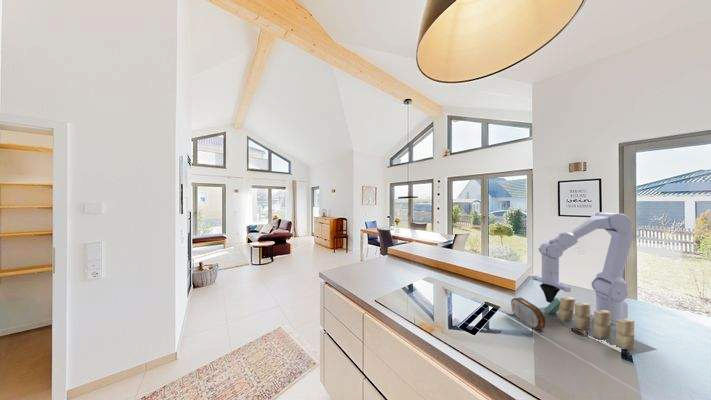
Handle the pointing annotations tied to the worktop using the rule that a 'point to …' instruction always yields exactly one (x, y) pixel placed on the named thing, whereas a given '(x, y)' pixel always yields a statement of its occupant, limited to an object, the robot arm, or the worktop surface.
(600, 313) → the domino
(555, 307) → the domino
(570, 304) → the domino
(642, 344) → the felt mat
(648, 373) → the worktop surface
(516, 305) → the tin
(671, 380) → the worktop surface
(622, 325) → the domino
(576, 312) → the domino
